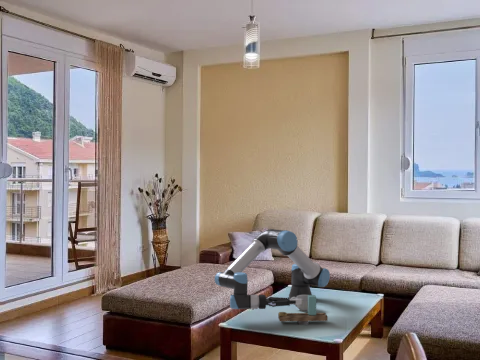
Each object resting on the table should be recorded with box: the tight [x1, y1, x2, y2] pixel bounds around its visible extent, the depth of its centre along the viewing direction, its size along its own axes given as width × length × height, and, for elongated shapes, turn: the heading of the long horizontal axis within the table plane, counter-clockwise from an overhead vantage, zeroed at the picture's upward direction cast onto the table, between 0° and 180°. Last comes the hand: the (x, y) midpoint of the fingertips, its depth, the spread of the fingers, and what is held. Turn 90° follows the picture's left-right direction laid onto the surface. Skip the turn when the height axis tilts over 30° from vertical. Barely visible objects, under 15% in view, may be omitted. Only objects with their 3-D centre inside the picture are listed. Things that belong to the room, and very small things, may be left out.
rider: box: [307, 294, 317, 315], centre depth 288 cm, size 4×4×12 cm
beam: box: [277, 311, 329, 326], centre depth 288 cm, size 26×7×6 cm, turn 92°
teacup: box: [291, 295, 308, 312], centre depth 314 cm, size 14×11×8 cm
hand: (301, 301), depth 287 cm, fingers closed
